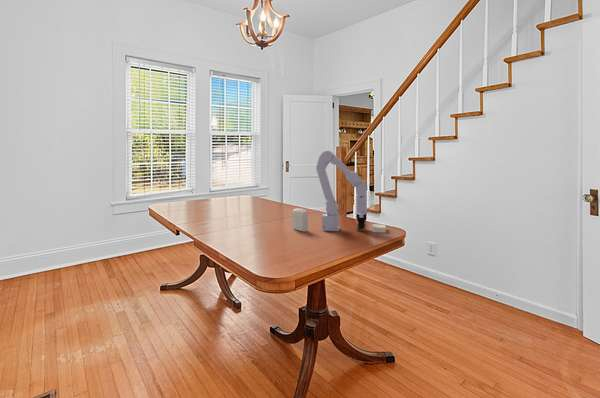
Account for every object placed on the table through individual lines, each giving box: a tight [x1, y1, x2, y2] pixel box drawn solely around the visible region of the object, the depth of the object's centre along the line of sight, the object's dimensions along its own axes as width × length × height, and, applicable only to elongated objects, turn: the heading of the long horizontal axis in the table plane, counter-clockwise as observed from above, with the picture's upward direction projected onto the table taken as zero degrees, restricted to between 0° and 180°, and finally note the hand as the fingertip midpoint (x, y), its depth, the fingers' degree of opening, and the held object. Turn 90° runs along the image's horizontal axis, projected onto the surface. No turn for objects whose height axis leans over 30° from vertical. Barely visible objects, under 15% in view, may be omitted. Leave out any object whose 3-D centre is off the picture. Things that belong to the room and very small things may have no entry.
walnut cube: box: [356, 221, 366, 232], centre depth 181 cm, size 4×4×4 cm
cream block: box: [371, 223, 387, 233], centre depth 179 cm, size 7×7×3 cm
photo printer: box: [291, 207, 309, 233], centre depth 183 cm, size 10×4×12 cm, turn 40°
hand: (361, 227), depth 181 cm, fingers closed on walnut cube, 4 cm apart
